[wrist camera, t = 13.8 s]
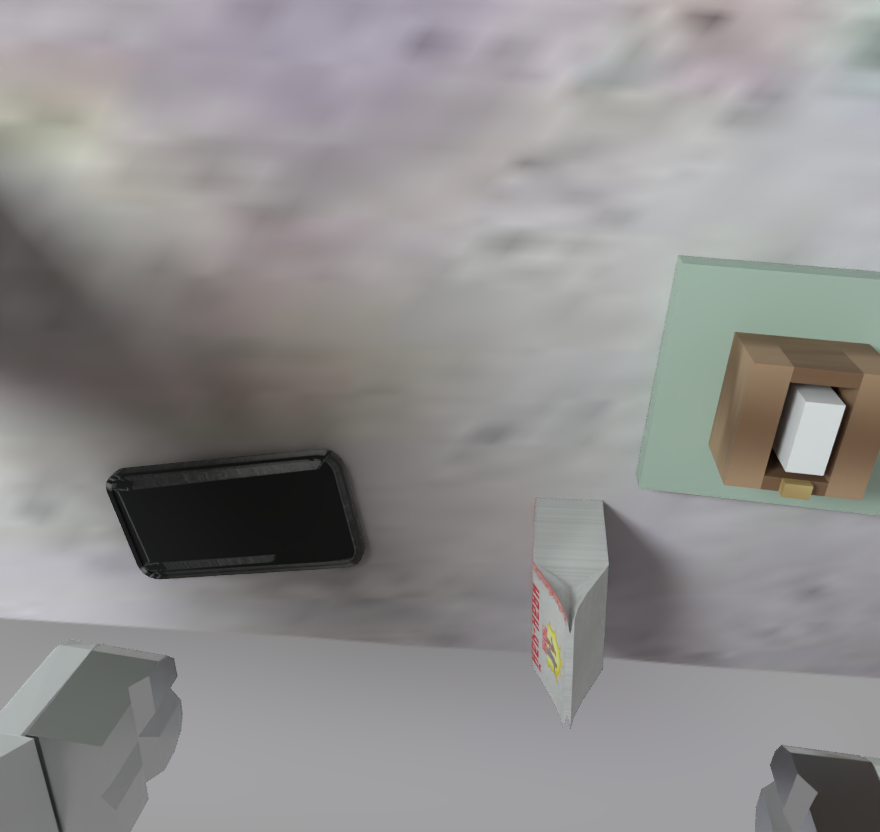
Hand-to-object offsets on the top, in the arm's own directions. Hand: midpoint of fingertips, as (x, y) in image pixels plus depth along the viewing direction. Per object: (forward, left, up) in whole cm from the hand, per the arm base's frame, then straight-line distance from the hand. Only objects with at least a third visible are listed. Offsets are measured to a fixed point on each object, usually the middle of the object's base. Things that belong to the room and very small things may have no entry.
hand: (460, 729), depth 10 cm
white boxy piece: (+4, -17, -29) cm, 34 cm away
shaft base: (+13, -6, -29) cm, 32 cm away
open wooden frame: (+13, -6, -28) cm, 31 cm away
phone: (-16, -18, -30) cm, 38 cm away
